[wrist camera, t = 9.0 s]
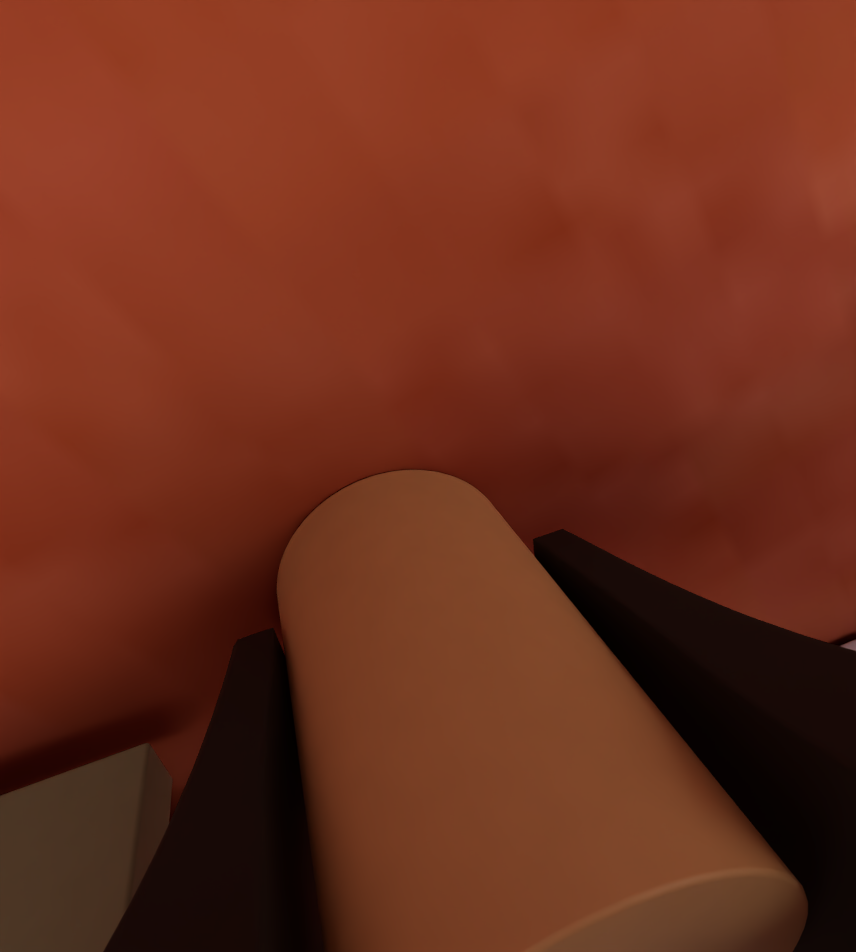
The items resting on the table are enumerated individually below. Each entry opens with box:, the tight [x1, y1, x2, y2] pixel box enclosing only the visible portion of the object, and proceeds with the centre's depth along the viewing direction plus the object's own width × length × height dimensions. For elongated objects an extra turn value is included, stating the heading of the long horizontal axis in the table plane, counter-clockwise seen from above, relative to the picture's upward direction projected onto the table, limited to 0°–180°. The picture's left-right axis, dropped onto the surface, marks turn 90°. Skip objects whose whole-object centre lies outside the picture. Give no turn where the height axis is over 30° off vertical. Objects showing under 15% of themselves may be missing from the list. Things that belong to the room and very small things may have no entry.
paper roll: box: [277, 470, 808, 952], centre depth 9 cm, size 5×5×8 cm
